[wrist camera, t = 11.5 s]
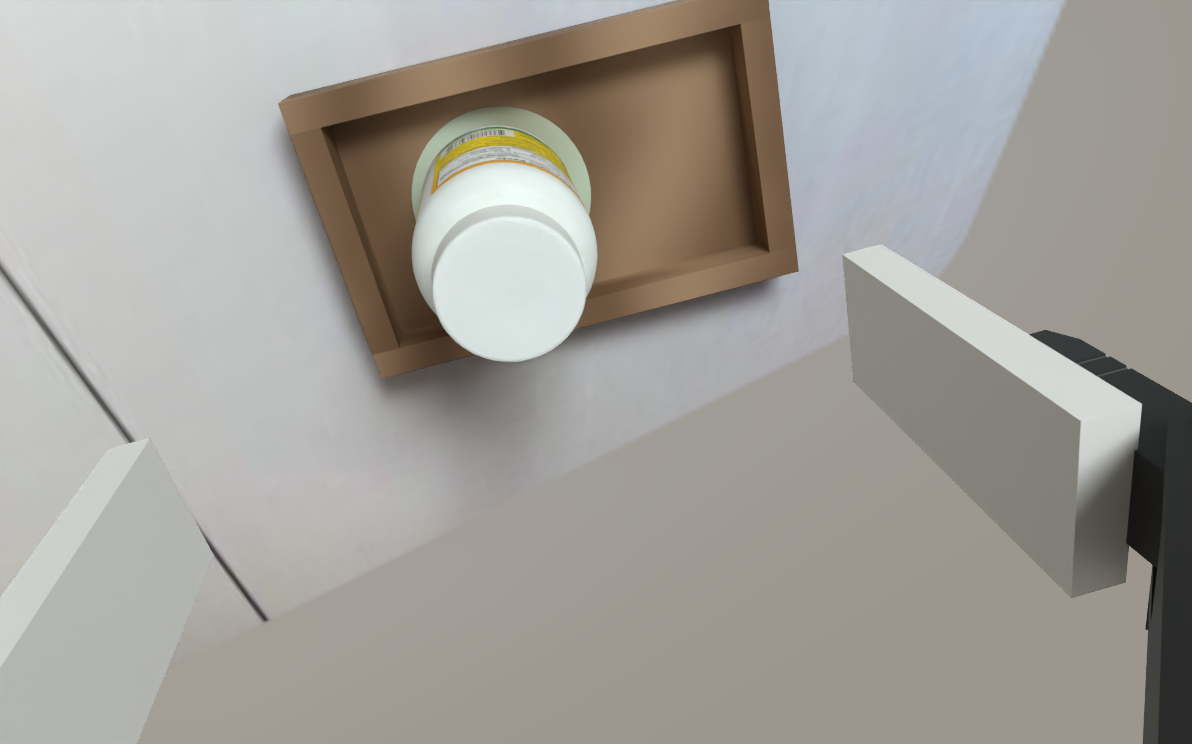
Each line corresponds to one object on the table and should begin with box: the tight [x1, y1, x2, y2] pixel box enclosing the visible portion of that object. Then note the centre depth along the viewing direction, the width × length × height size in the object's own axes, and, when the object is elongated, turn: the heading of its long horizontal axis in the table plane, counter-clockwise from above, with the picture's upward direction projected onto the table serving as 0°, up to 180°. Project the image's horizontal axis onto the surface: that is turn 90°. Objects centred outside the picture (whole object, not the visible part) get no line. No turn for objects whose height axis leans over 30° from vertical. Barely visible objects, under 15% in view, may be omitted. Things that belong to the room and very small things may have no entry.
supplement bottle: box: [412, 125, 597, 362], centre depth 26 cm, size 5×5×10 cm
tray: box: [278, 0, 799, 379], centre depth 30 cm, size 16×10×2 cm, turn 102°
